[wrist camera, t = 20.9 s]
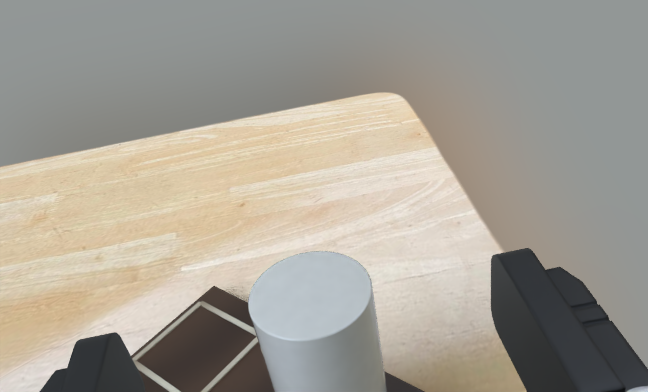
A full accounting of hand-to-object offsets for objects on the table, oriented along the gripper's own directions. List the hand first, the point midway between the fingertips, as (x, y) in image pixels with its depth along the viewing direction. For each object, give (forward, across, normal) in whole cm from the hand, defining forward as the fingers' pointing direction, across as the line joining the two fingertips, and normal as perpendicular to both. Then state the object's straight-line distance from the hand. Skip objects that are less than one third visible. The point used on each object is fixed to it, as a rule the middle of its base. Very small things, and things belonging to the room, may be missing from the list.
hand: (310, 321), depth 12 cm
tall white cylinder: (+6, 0, +14) cm, 15 cm away
